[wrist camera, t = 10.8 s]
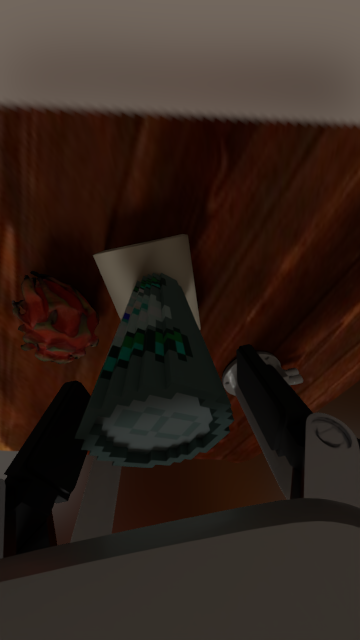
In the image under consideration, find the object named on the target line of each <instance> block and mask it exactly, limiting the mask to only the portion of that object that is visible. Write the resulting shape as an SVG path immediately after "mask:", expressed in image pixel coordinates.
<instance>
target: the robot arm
mask: <svg viewBox="0 0 360 640" xmlns="http://www.w3.org/2000/svg"><path fill="white" fill-rule="evenodd" d="M302 382H303V379H302V377H301V375H300V374H299V372H298V370H297V369H296V368H290V369H288V370H284V369H282V368H281V364H280V362H279V360H278V359H277V358H276V357H275V356H274V355H272V354H271V353H268V352H261V351H260V352H256V351H255V350H254V348H253V347H252V346H251V345H250V344H248V345H243V346H240V347H239V349H237V359H236V360H234V361H233V362H232V363H231V364H230V365H229V366H228V367H227V368H226V369H225V371H224V373H223V376H222V383H223V385H224V388H225V389H226V391H227V392H229V393H230V394H233V395H236V396H237V398H238V401H239V403H240V405H241V407H242V409H243V411H244V413H245V415H246V417H247V419H248V422H249V424H250V426H251V428H252V430H253V432H254V434H255V436H256V438H257V440H258V443H259V445H260V447H261V449H262V451H263V453H264V455H265V457H266V459H267V461H268V463H269V465H270V468H271V470H272V472H273V474H274V476H275V478H276V480H277V482H278V484H279V486H280V488H281V490H282V492H283V493H284V495H285V496H286V498H287V500H280V501H274V502H269V503H263V504H257V505H252V506H246V507H241V508H236V509H231V510H226V511H221V512H216V513H211V514H206V515H201V516H196V517H191V518H186V519H181V520H176V521H172V522H168V523H162V524H157V525H153V526H147V527H143V528H138V529H133V530H128V531H124V532H119V533H114V534H109V535H104V536H100V537H95V538H90V539H86V540H81V541H76V542H72V543H68V544H62V545H58V546H57V540H56V534H55V528H54V521H53V515H52V508H53V505H54V503H60V502H66V501H68V499H69V496H70V494H71V492H72V491H73V490H74V488H75V486H76V483H77V480H78V477H79V474H80V471H81V469H82V466H83V463H84V460H85V457H86V454H87V451H88V450H81V448H82V445H83V442H84V439H75V436H76V433H77V431H78V428H79V426H80V423H81V421H82V418H83V415H84V413H85V410H86V408H87V405H88V403H89V400H90V398H91V396H90V394H89V393H88V392H87V390H86V389H85V387H84V386H83V385H82V383H80V382H78V381H71V382H66V383H64V385H63V386H62V387H61V389H60V390H59V392H58V393H57V395H56V396H55V398H54V399H53V401H52V402H51V404H50V405H49V407H48V408H47V410H46V411H45V413H44V414H43V416H42V417H41V419H40V420H39V422H38V424H37V425H36V427H35V428H34V430H33V431H32V433H31V434H30V436H29V437H28V439H27V440H26V442H25V443H24V445H23V446H22V448H21V449H20V451H19V452H18V454H17V455H16V457H15V458H14V460H13V461H12V463H11V464H10V466H9V467H8V469H7V470H6V472H5V473H4V474H5V475H7V478H6V479H5V481H4V480H3V479H0V640H360V439H358V438H356V436H355V435H354V434H353V432H352V431H351V429H350V428H348V427H347V426H346V425H345V424H344V423H343V422H341V421H339V420H338V419H337V418H335V417H333V416H330V415H328V414H324V413H312V411H311V410H310V409H309V408H308V407H307V405H306V404H305V403H304V402H303V401H302V400H301V398H300V397H299V396H298V395H297V394H296V392H295V391H294V390H293V389H292V388H291V387H290V385H295V384H299V383H302Z"/></svg>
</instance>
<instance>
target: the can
mask: <svg viewBox="0 0 360 640" xmlns="http://www.w3.org/2000/svg"><path fill="white" fill-rule="evenodd" d="M230 407H231V404H230V402H229V399H228V397H227V394H226V392H225V390H224V387H223V385H222V383H221V380H220V378H219V375H218V373H217V371H216V368H215V366H214V363H213V361H212V359H211V356H210V354H209V352H208V349H207V347H206V344H205V342H204V340H203V337H202V335H201V333H200V330H199V328H198V325H197V323H196V321H195V318H194V316H193V313H192V311H191V309H190V306H189V304H188V302H187V299H186V297H185V294H184V292H183V290H182V287H181V286H179V285H178V282H177V280H175V279H173V278H171V277H169V276H167V275H165V274H163V273H161V274H160V276H159V275H157V274H155V273H153V274H152V276H151V275H149V274H148V276H147V277H145V276H143V278H142V280H141V282H140V281H138V280H137V282H136V285H135V287H134V289H133V292H132V294H131V297H130V299H129V302H128V304H127V307H126V309H125V312H124V314H123V317H122V319H121V322H120V324H119V327H118V329H117V332H116V335H115V337H114V340H113V342H112V345H111V347H110V350H109V352H108V355H107V357H106V360H105V362H104V365H103V367H102V370H101V372H100V375H99V378H98V380H97V383H96V385H95V388H94V390H93V393H92V395H91V398H90V400H89V403H88V405H87V408H86V410H85V413H84V415H83V418H82V421H81V423H80V426H79V428H78V431H77V433H76V436H75V439H84V442H83V445H82V448H81V450H89V451H90V453H89V455H92V456H97V459H96V460H99V461H113V462H112V466H129V467H145V468H152V467H153V466H154V465H155V464H157V465H171V464H172V463H173V462H181V461H182V460H184V459H192V458H193V457H194V456H195V455H197V454H198V453H199V452H205V453H206V452H207V451H209V450H210V449H211V448H212V447H213V446H214V445H215V444H217V443H218V442H219V441H220V440H221V439H222V438H223V437H225V436H226V435H227V434H228V433H229V432H230V430H229V427H228V426H229V425H230V424H231V423H232V422H233V421H234V418H233V416H232V414H233V413H232V410H231V408H230Z"/></svg>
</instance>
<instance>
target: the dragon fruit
mask: <svg viewBox="0 0 360 640" xmlns="http://www.w3.org/2000/svg"><path fill="white" fill-rule="evenodd" d="M31 274H33V275H35V276H37V277H39V278H37V279H38V281H39V282H37V283H36V278H29V276H28V275H25V278H24V281H23V282H22V284H21V285H22V292H23V294H24V297H25V300H20V301H19V302H15V301H12V305H13V306H14V309H13V313H14V315H15V316H16V317H17V318H18V319H20V320H21V321H22V322H23V323H24V324H23V325H20V326H19V328H18V330H20V331H22V332H24V333H25V335H24V336H23V340H24V342H25V343H26V344H24V345H21V348H22V349H23V350H24V351H27V350H31V349H37V350H36V352H35V356H36V357H37V358H38V359H39V360H42V361H48V360H50V361H51V362H56V363H58V364H61V363H69V362H71V361H73V360H74V359H78V358H80V357H81V356H83V355H85V354H86V351H85V348H86V347H87V346H89V345H90V344H91V346H97V345H98V342H99V339H98V338H97V336H95V334H94V330H95V328H96V326H97V325H98V324H99V315H98V313H97V312H95V310H94V309H93V308H92V307H91V306H90V304H89V303H88V302H87V300H86V299H85V298H84V297H83V295H82V294H81V293H79V292H78V291H77V290H76V289H75V288H74V287H72V286H71V285H70V284H67V285H66V284H64V283H62V282H60V281H58V280H56V279H55V278H53V277H51V276H48V275H44V274H38V273H37V272H35V271H31ZM19 277H20V276H19ZM35 285H36V287H35ZM19 306H21V307H22V308H23V309H24V311H25V312H26V313H25V314H22V315H21V314H20V312H19V311H20V308H19ZM74 357H76V358H74Z"/></svg>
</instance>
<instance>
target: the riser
mask: <svg viewBox="0 0 360 640" xmlns="http://www.w3.org/2000/svg"><path fill="white" fill-rule="evenodd" d="M93 257H94V259H95V261H96V264H97V266H98V268H99V270H100V273H101V275H102V277H103V280H104V282H105V284H106V287H107V289H108V291H109V294H110V296H111V298H112V301H113V303H114V305H115V308H116V310H117V312H118V315H119V317H120V319H122V317H123V314H124V312H125V309H126V307H127V304H128V302H129V299H130V297H131V294H132V292H133V289H134V287H135V285H136V282H137V280H138V281H140V282H141V280H142V278H143V276H145V277H147V276H148V274H149V275H151V276H152V274H153V273H155V274H157V275H159V276H160V274H161V273H163V274H165V275H167V276H169V277H171V278H173V279H175V280H177V282H178V285H179V286H181V287H182V290H183V292H184V294H185V297H186V299H187V302H188V304H189V306H190V309H191V311H192V313H193V316H194V318H195V321H196V323H197V325H198V328H199V330H200V329H201V328H200V321H199V313H198V306H197V299H196V291H195V284H194V277H193V269H192V262H191V255H190V247H189V240H188V235H185V234H181V235H176V236H171V237H167V238H162V239H157V240H152V241H148V242H143V243H138V244H133V245H129V246H124V247H119V248H114V249H110V250H105V251H102V252H99V253H97V254H94V255H93Z"/></svg>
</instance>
